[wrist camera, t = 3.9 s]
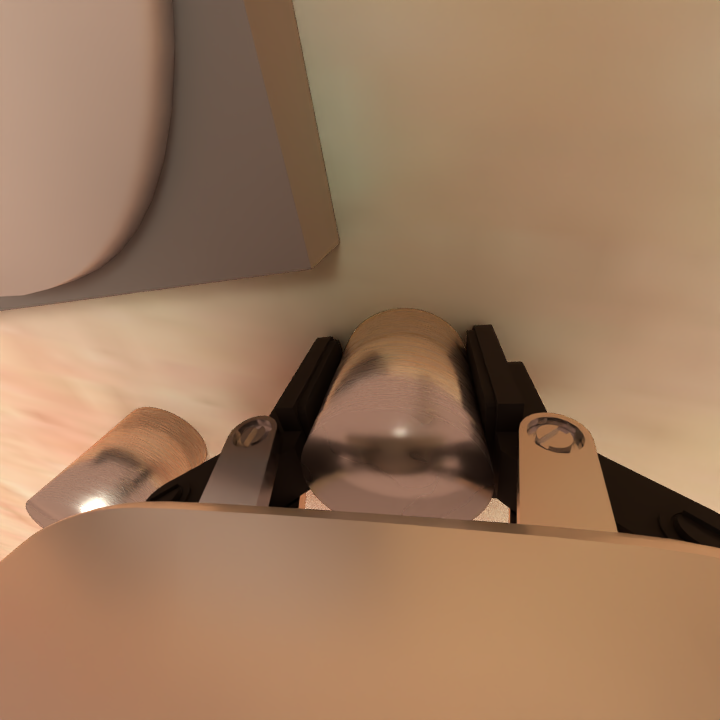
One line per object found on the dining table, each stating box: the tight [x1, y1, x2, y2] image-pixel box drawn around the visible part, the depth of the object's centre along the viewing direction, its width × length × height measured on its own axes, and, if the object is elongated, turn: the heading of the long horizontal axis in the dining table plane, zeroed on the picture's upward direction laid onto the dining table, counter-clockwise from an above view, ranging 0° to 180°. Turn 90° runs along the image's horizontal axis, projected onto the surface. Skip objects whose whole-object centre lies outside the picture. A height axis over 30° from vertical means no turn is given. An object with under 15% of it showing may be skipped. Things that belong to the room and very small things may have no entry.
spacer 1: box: [26, 407, 207, 528], centre depth 14 cm, size 4×4×5 cm
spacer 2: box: [301, 308, 495, 520], centre depth 9 cm, size 4×4×5 cm
